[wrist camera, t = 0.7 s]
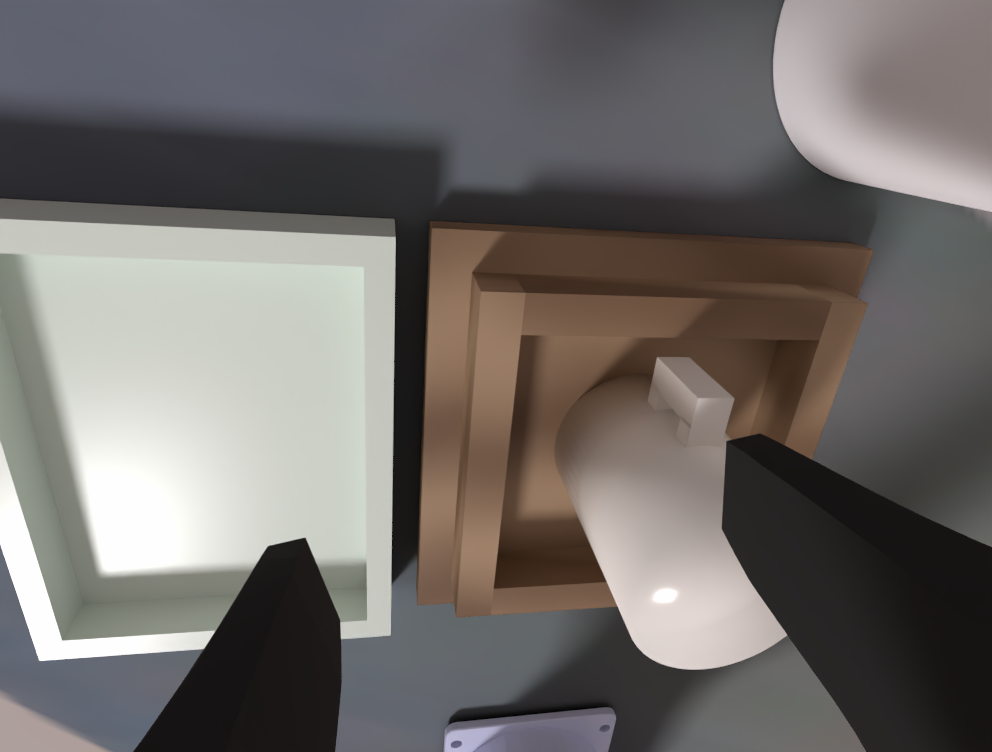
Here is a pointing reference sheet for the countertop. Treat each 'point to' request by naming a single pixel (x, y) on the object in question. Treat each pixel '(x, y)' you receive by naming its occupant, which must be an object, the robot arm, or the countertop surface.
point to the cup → (891, 93)
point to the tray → (190, 416)
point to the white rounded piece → (663, 514)
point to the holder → (598, 379)
